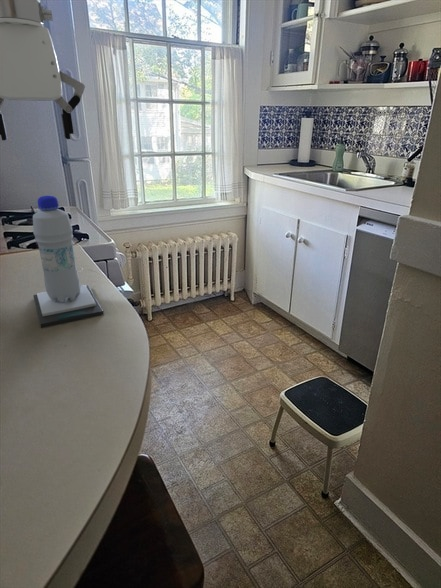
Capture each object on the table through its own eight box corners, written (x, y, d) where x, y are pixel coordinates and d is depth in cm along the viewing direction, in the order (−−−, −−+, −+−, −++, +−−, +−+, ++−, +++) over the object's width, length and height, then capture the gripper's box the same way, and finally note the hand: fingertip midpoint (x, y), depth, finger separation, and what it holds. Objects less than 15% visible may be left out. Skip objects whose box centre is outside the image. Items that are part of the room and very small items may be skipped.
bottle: (39, 299, 77) (18, 196, 68) (69, 288, 82) (52, 191, 73) (60, 308, 73) (40, 200, 65) (90, 296, 78) (75, 194, 70)
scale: (35, 305, 81) (32, 292, 80) (89, 295, 86) (87, 282, 85) (42, 335, 70) (39, 321, 69) (104, 322, 75) (102, 308, 73)
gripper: (74, 26, 65) (88, 137, 72) (-48, 16, 58) (-19, 139, 65) (78, 16, 58) (93, 139, 65) (-58, 4, 52) (-25, 141, 59)
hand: (37, 139), depth 65 cm, fingers open, 9 cm apart
